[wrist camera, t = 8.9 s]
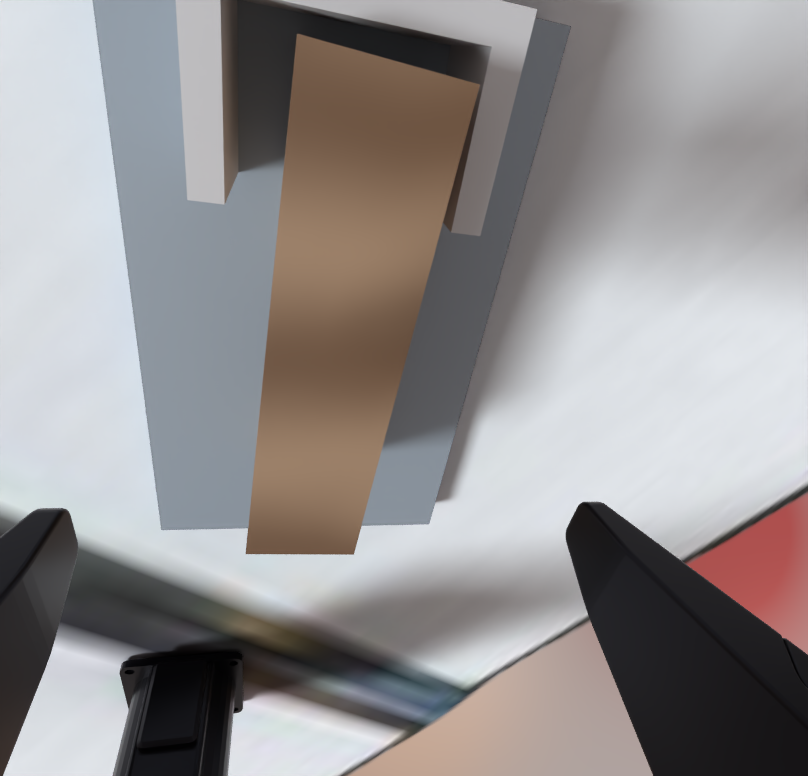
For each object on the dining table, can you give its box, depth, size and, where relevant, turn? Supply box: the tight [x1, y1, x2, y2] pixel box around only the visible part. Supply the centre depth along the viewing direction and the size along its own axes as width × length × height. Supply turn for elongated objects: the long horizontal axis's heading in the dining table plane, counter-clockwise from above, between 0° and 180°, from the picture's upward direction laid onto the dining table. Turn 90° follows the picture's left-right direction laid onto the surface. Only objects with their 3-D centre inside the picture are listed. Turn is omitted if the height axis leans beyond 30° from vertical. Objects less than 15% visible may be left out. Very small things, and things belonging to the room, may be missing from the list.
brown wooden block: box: [246, 34, 480, 554], centre depth 15 cm, size 14×4×5 cm, turn 166°
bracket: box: [93, 0, 571, 530], centre depth 17 cm, size 20×12×4 cm, turn 170°
